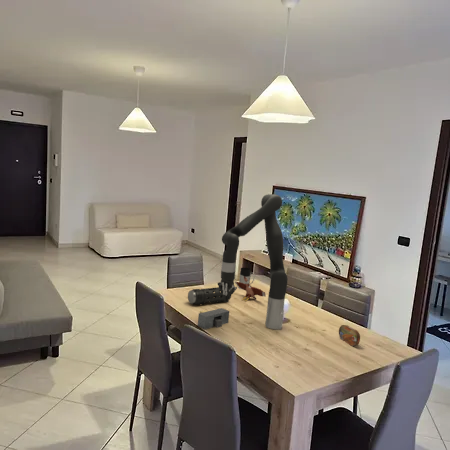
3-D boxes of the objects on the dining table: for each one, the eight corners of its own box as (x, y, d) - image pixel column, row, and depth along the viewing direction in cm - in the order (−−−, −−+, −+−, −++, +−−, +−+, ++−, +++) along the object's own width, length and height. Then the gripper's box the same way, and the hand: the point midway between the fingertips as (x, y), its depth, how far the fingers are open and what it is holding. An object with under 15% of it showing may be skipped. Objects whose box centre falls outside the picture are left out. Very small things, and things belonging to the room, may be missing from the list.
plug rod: (222, 326, 227) (223, 318, 226) (215, 327, 224) (216, 320, 223) (205, 317, 239) (206, 310, 239) (199, 318, 236) (199, 311, 236)
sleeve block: (228, 322, 233) (229, 311, 232) (204, 329, 220) (206, 316, 219) (220, 319, 237) (221, 308, 236) (197, 325, 224) (198, 313, 223)
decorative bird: (221, 292, 281) (229, 271, 284) (238, 298, 293) (246, 278, 296) (251, 303, 261) (260, 281, 263) (268, 310, 273) (276, 289, 275)
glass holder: (244, 286, 315) (246, 266, 314) (257, 290, 305) (259, 271, 303) (235, 287, 310) (237, 267, 308) (248, 292, 299) (250, 272, 297)
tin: (337, 337, 226) (339, 322, 225) (342, 336, 227) (344, 322, 226) (355, 348, 212) (357, 333, 211) (360, 348, 213) (362, 332, 212)
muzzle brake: (231, 303, 269) (232, 288, 268) (193, 308, 254) (195, 291, 252) (223, 299, 277) (224, 284, 276) (186, 303, 262) (187, 287, 260)
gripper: (242, 271, 217) (239, 303, 219) (224, 266, 226) (222, 297, 228) (232, 273, 212) (230, 306, 214) (214, 268, 221) (212, 299, 223)
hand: (226, 301), depth 221 cm, fingers closed
